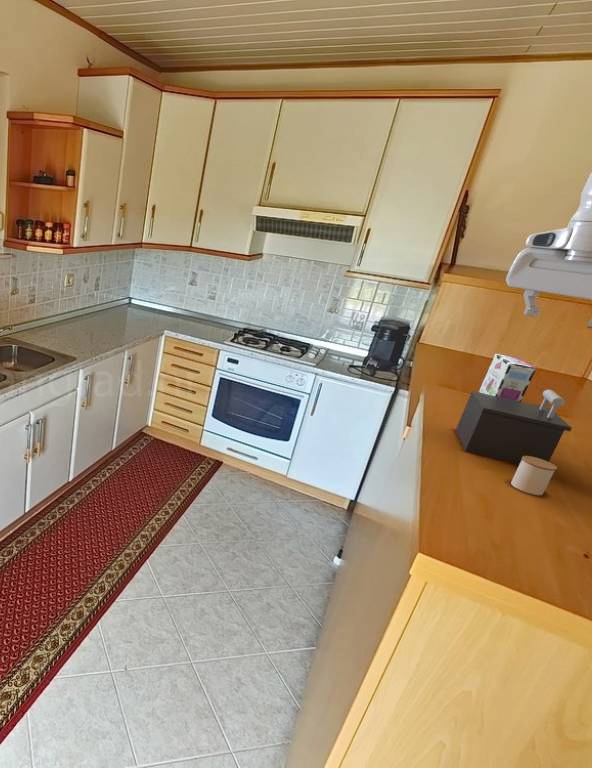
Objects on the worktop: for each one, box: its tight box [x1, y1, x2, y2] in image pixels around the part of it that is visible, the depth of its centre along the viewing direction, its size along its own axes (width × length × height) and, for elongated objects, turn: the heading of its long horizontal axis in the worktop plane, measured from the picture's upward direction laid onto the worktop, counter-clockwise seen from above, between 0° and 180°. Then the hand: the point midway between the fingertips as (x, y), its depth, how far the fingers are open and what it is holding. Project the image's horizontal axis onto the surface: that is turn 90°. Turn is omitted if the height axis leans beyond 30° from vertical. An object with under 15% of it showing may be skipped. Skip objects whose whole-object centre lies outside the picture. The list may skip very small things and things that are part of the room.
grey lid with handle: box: [470, 389, 573, 432], centre depth 98 cm, size 13×13×5 cm
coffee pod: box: [510, 456, 558, 496], centre depth 85 cm, size 5×5×5 cm
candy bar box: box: [478, 353, 537, 402], centre depth 112 cm, size 11×5×16 cm, turn 154°
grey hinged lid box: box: [455, 394, 565, 466], centre depth 100 cm, size 13×13×9 cm
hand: (560, 322), depth 87 cm, fingers open, 8 cm apart
